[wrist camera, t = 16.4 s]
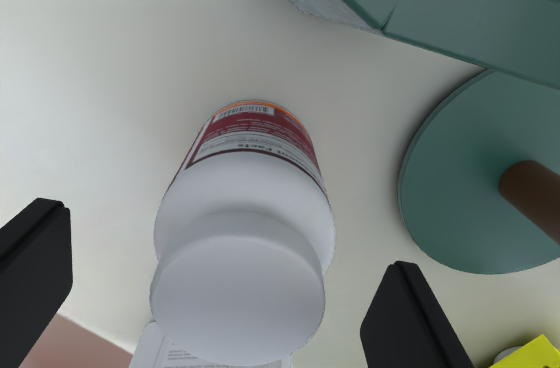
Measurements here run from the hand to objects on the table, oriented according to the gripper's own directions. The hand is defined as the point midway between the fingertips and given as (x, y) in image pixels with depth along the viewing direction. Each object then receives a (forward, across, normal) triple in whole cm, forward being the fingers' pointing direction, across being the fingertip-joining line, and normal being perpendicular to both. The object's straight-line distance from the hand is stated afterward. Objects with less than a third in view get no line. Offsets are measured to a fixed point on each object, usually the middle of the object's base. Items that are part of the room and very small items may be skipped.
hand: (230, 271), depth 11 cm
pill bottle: (+10, 0, 0) cm, 10 cm away
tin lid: (+9, -14, -2) cm, 17 cm away
